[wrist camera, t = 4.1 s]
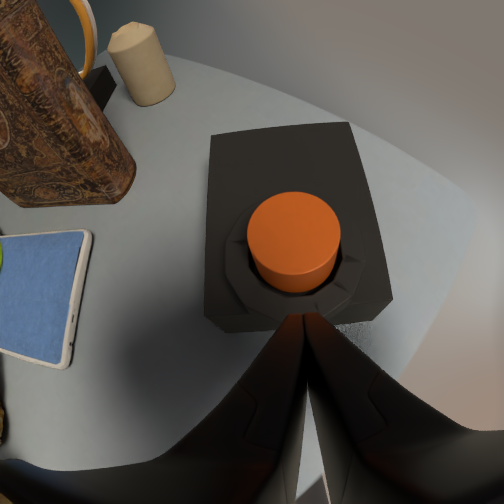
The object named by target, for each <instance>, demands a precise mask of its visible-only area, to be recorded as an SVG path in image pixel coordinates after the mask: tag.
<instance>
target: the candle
mask: <svg viewBox="0 0 504 504" xmlns="http://www.w3.org/2000/svg"><path fill="white" fill-rule="evenodd" d="M107 50H108V52H109V54H110V56H111V58H112V60H113V62H114V64H115V66H116V68H117V70H118V72H119V74H120V76H121V78H122V79H123V81H124V83H125V85H126V87H127V89H128V91H129V93H130V95H131V97H132V98H133V100H134V102H135V103H136V104H137V105H139V106H149V105H153V104H156V103H158V102H160V101H162V100H164V99H165V98H167V97H168V96H169V95H170V94H171V93H172V92H173V90H174V89H175V81H174V78H173V76H172V73H171V71H170V68H169V66H168V63H167V61H166V58H165V56H164V53H163V51H162V48H161V46H160V43H159V41H158V38H157V35H156V33H155V31H154V28H153V27H151V26H149V25H145V24H140V23H137V22H131V23H129V24H127V25H125V26H122V27H121V28H120V29H119V30H118V31H117V32H115V33H113V34H112V37H111V40H110V43H109V45H108V48H107Z"/></svg>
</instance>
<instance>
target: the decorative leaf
mask: <svg viewBox="0 0 504 504" xmlns="http://www.w3.org/2000/svg"><path fill="white" fill-rule="evenodd" d="M1 263H2V247H1V242H0V268H1Z"/></svg>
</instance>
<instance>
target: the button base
mask: <svg viewBox="0 0 504 504" xmlns="http://www.w3.org/2000/svg"><path fill="white" fill-rule="evenodd" d="M285 192H303V193H308V194H311V195H314V196H316V197H318V198H320V199H321V200H323V201H324V202H325V203H327V204H328V205H329V206H330V207H331V209H332V210H333V211H334V213H335V214H336V216H337V219H338V221H339V225H340V231H341V235H340V242H339V247H338V251H337V255H336V259H335V263H334V267H333V269H332V271H331V273H330V275H329V276H328V277H327V279H326V280H325V281H324V282H323V283H321V284H320V285H319V286H317V287H315V288H313V289H311V290H308V291H305V292H299V293H291V292H285V291H281V290H278V289H276V288H274V287H272V286H271V285H269V284H268V283H267V282H266V281H265V280H264V279H263V278H262V276H261V275H260V273H259V272H258V269H257V267H256V264H255V262H254V259H253V256H252V253H251V251H250V248H249V245H248V241H247V228H248V224H249V221H250V218H251V216H252V214H253V213H254V211H255V210H256V209H257V208H258V206H259V205H261V204H262V203H263V202H264V201H266V200H267V199H269V198H270V197H272V196H275V195H277V194H281V193H285ZM392 300H393V297H392V291H391V285H390V279H389V274H388V268H387V263H386V258H385V253H384V249H383V244H382V239H381V235H380V230H379V226H378V222H377V218H376V214H375V210H374V206H373V202H372V198H371V194H370V190H369V187H368V183H367V179H366V176H365V172H364V169H363V165H362V162H361V159H360V155H359V152H358V149H357V146H356V143H355V140H354V136H353V133H352V130H351V127H350V124H349V122H330V123H314V124H301V125H290V126H279V127H270V128H261V129H253V130H245V131H237V132H230V133H224V134H217V135H211V142H210V158H209V175H208V194H207V216H206V243H205V282H204V317H206V318H207V319H208V320H210V321H211V322H212V323H214V324H215V325H216V326H218V327H219V328H220V329H221V330H223V331H224V332H225V333H235V332H254V331H269V330H277V329H278V327H279V326H280V325H281V323H282V322H283V320H284V319H285V318H286V316H287V315H289V314H299V313H300V314H302V315H303V314H304V313H310V312H318V313H319V314H320V315H322V316H323V317H324V318H325V319H326V320H327V321H328V322H329V323H331V324H332V325H338V324H347V323H355V322H363V321H371V320H373V319H374V318H375V317H376V316H377V315H378V314H379V313H380V312H381V311H382V310H383V309H384V308H385V307H386V306H387V305H388V304H389V303H390V302H391V301H392Z"/></svg>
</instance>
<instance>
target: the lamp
mask: <svg viewBox="0 0 504 504" xmlns="http://www.w3.org/2000/svg"><path fill="white" fill-rule="evenodd" d="M69 1H70V2H71V4H72V5H73V7H74V8H75V10H76V11H77V14H78V16H79V18H80V21H81V24H82V27H83V31H84V36H85V47H86V56H85V64H84V69H83V70H82V71H80V72H78V74H79V75H80V77H81V78H82V80H83V82H84V83H85V85H86V87H87V88H88V90H89V91H90V93H91V95H92V96H93V98H94V99H95V101H96V103H97V104H98V106H99V107H100V109H101V110H103V108H104V106H105V104H106V103H107V101H108V99H109V97H110V95H111V93H112V92H113V90H114V88H115V86H116V83H115V81H114V79H113V77H112V76H111V74H110V72H109V70H108V68H107V66H106V65H105V66H102V67H99V68H96V69H93V70H92V68H93V66H94V63H95V60H96V55H97V29H96V23H95V19H94V16H93V13H92V10H91V7H90V5H89V3H88V1H87V0H69Z"/></svg>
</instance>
